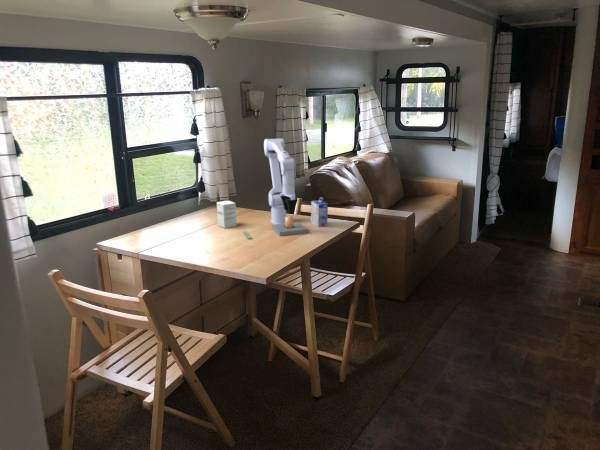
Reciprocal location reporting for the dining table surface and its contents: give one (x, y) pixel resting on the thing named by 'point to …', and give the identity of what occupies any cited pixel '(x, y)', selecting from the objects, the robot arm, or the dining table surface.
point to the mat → (247, 235)
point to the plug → (289, 222)
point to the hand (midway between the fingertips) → (289, 211)
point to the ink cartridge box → (319, 213)
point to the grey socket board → (289, 229)
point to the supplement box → (226, 214)
